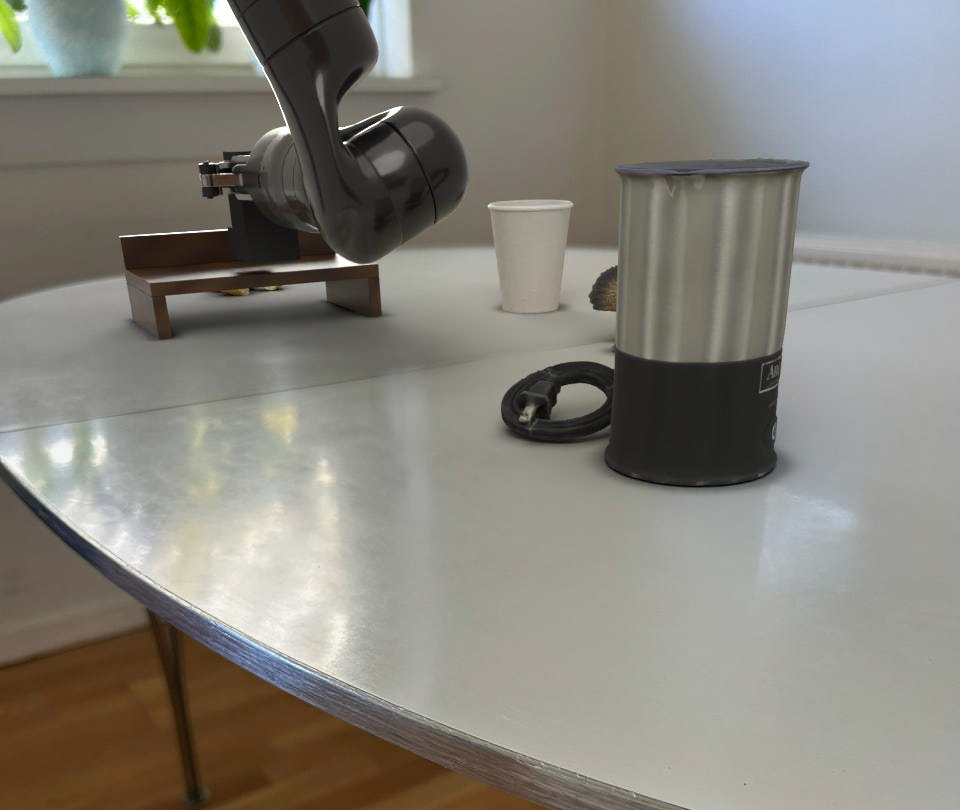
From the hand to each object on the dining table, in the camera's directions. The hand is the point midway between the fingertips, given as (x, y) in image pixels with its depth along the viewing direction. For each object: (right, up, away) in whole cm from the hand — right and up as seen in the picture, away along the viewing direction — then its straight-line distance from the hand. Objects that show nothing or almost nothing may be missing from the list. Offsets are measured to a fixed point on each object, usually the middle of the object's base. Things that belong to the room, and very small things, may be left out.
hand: (250, 175), depth 91 cm
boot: (0, -6, +3) cm, 7 cm away
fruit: (-8, -1, +27) cm, 28 cm away
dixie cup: (+26, -9, +11) cm, 30 cm away
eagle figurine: (+34, -18, -7) cm, 39 cm away
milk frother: (+30, -32, -34) cm, 55 cm away
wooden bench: (-2, -10, +9) cm, 14 cm away
